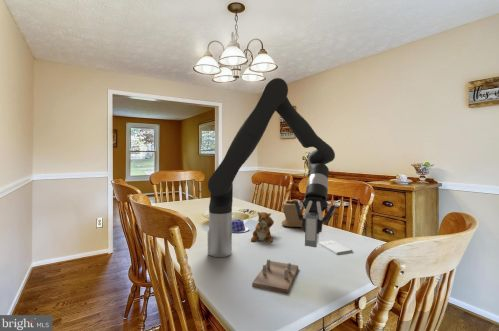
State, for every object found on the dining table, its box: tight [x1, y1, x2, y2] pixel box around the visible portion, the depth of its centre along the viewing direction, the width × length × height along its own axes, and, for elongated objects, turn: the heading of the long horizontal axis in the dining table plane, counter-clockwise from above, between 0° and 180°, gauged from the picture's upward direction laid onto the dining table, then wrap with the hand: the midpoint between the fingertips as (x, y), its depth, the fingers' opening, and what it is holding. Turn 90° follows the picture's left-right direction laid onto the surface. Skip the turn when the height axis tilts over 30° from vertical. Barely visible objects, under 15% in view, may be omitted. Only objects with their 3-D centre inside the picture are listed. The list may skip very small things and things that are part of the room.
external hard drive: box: [317, 239, 354, 255], centre depth 109 cm, size 2×8×12 cm
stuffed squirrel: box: [250, 211, 275, 243], centre depth 121 cm, size 10×14×13 cm
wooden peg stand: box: [252, 258, 299, 294], centre depth 83 cm, size 17×11×4 cm, turn 159°
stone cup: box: [281, 199, 303, 228], centre depth 140 cm, size 15×12×15 cm
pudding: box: [232, 218, 249, 233], centre depth 134 cm, size 12×12×5 cm
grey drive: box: [304, 211, 320, 248], centre depth 82 cm, size 6×4×10 cm, turn 159°
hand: (311, 231), depth 80 cm, fingers closed on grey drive, 3 cm apart
